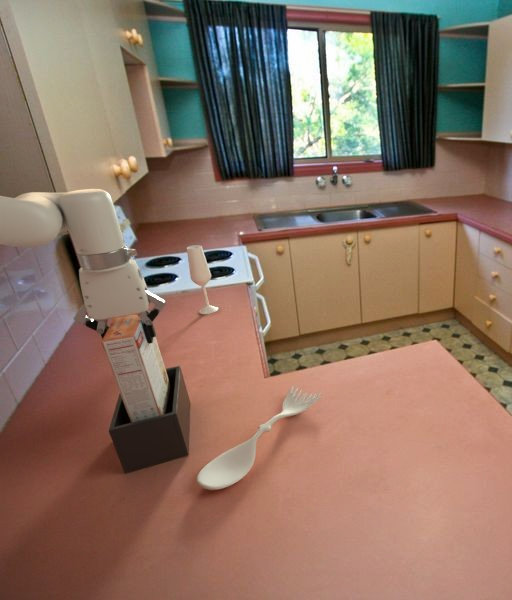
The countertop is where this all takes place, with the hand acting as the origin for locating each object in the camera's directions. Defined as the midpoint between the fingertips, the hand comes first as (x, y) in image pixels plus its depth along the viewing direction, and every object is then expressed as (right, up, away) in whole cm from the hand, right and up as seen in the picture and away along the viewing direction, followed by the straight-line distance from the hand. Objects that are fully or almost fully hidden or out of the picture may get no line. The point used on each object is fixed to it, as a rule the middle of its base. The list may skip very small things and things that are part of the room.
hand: (132, 343), depth 85 cm
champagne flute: (-16, +5, +71) cm, 73 cm away
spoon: (+25, -22, +7) cm, 34 cm away
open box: (+1, -21, +9) cm, 23 cm away
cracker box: (+1, -15, +6) cm, 16 cm away
